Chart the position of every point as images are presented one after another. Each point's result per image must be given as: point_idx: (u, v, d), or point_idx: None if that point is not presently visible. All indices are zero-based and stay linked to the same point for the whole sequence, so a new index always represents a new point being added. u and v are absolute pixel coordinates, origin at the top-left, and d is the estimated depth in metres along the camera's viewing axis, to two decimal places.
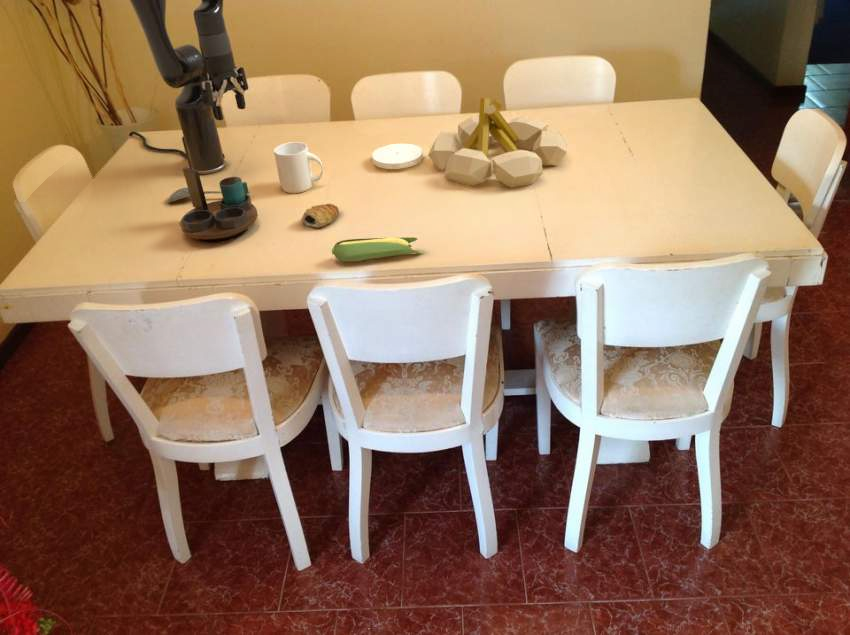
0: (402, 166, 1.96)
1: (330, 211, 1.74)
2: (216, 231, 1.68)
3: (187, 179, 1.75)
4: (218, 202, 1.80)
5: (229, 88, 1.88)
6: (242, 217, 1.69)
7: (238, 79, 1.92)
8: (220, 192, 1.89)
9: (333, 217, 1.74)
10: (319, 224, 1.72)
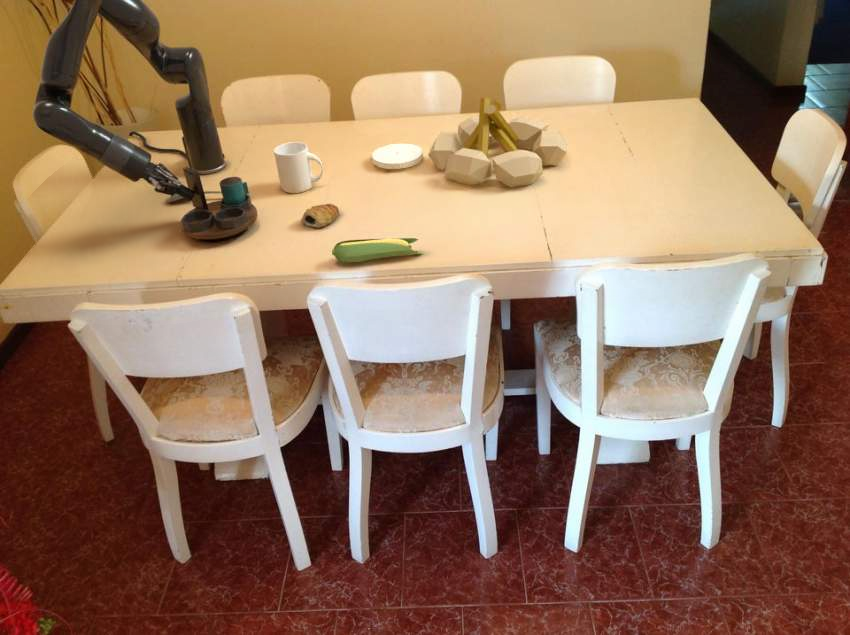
0: (402, 166, 1.96)
1: (330, 211, 1.74)
2: (216, 231, 1.68)
3: (187, 179, 1.75)
4: (218, 202, 1.80)
5: None
6: (242, 217, 1.68)
7: None
8: (220, 192, 1.89)
9: (333, 217, 1.74)
10: (319, 224, 1.72)
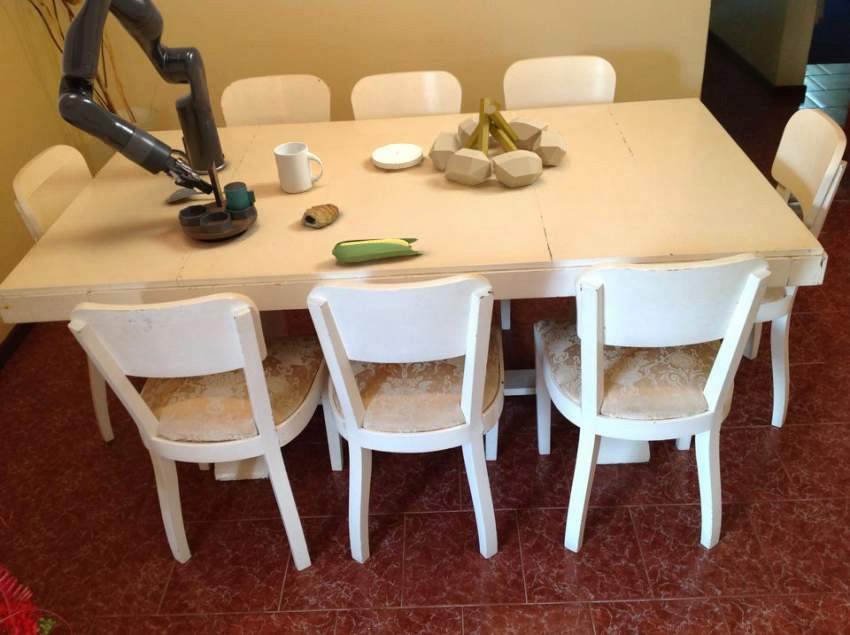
0: (402, 166, 1.96)
1: (330, 211, 1.74)
2: (196, 230, 1.69)
3: None
4: None
5: None
6: (219, 225, 1.66)
7: None
8: None
9: (333, 217, 1.74)
10: (319, 224, 1.72)
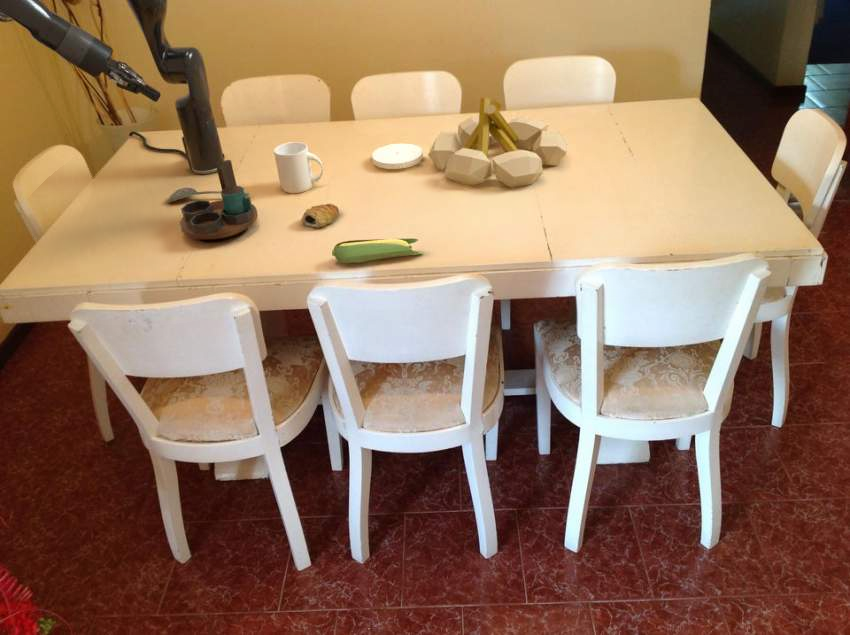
0: (402, 166, 1.96)
1: (330, 211, 1.74)
2: (188, 227, 1.70)
3: None
4: None
5: None
6: (202, 227, 1.66)
7: None
8: (220, 192, 1.89)
9: (333, 217, 1.74)
10: (319, 224, 1.72)
